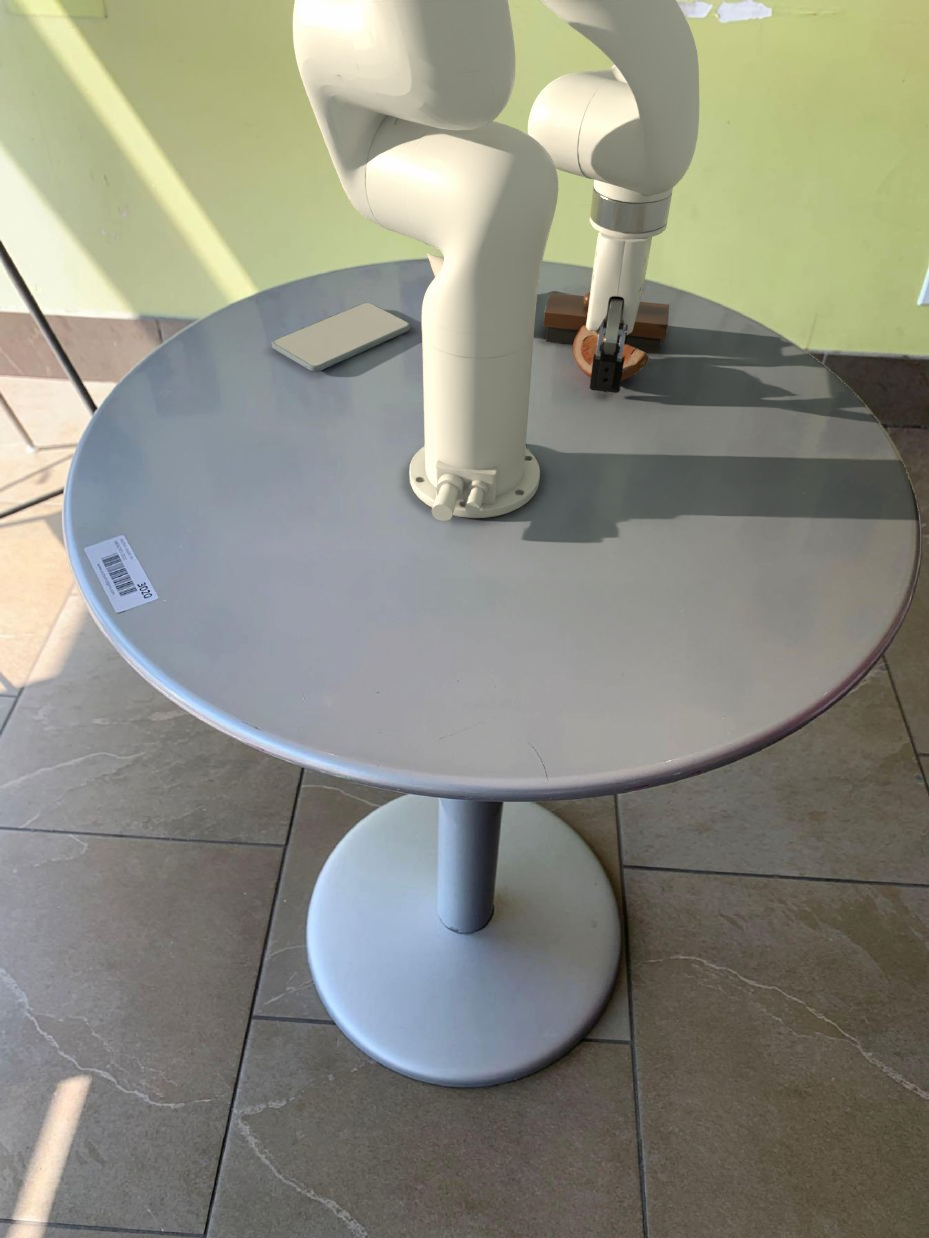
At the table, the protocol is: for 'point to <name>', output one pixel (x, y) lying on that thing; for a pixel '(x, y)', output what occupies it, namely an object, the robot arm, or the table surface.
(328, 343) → the smartphone
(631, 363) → the fruit slice
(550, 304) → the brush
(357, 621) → the table surface
